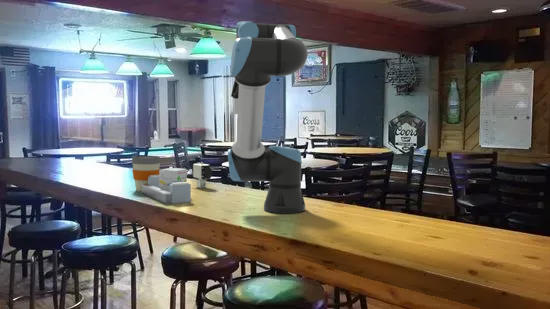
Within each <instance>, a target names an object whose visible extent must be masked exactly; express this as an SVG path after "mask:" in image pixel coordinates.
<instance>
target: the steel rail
mask: <svg viewBox="0 0 550 309" xmlns="http://www.w3.org/2000/svg"><path fill="white" fill-rule="evenodd" d="M141 185H142V191H141V193H142V194H143V193H144V194H143V195H145V194H146V195H145V196H148V197H150V198H152V199H154V200H156V201H158V202H161V203H163V204H165V205H167V204H168V205H169V204H173V203H172V193H170V192H168V191H165V190H163V189H160V188H158V187H155V186H153V185H150V184H141Z"/></svg>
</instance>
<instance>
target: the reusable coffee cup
mask: <svg viewBox="0 0 550 309" xmlns="http://www.w3.org/2000/svg"><path fill="white" fill-rule="evenodd" d="M131 157H132V158H131V164H132V178H133V180H134V182H135V190H137V191H136V192H142V185H141V184H148V177H150V175H159V170H161V168H160V165H161V156H158V155H134V156H131Z"/></svg>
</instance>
